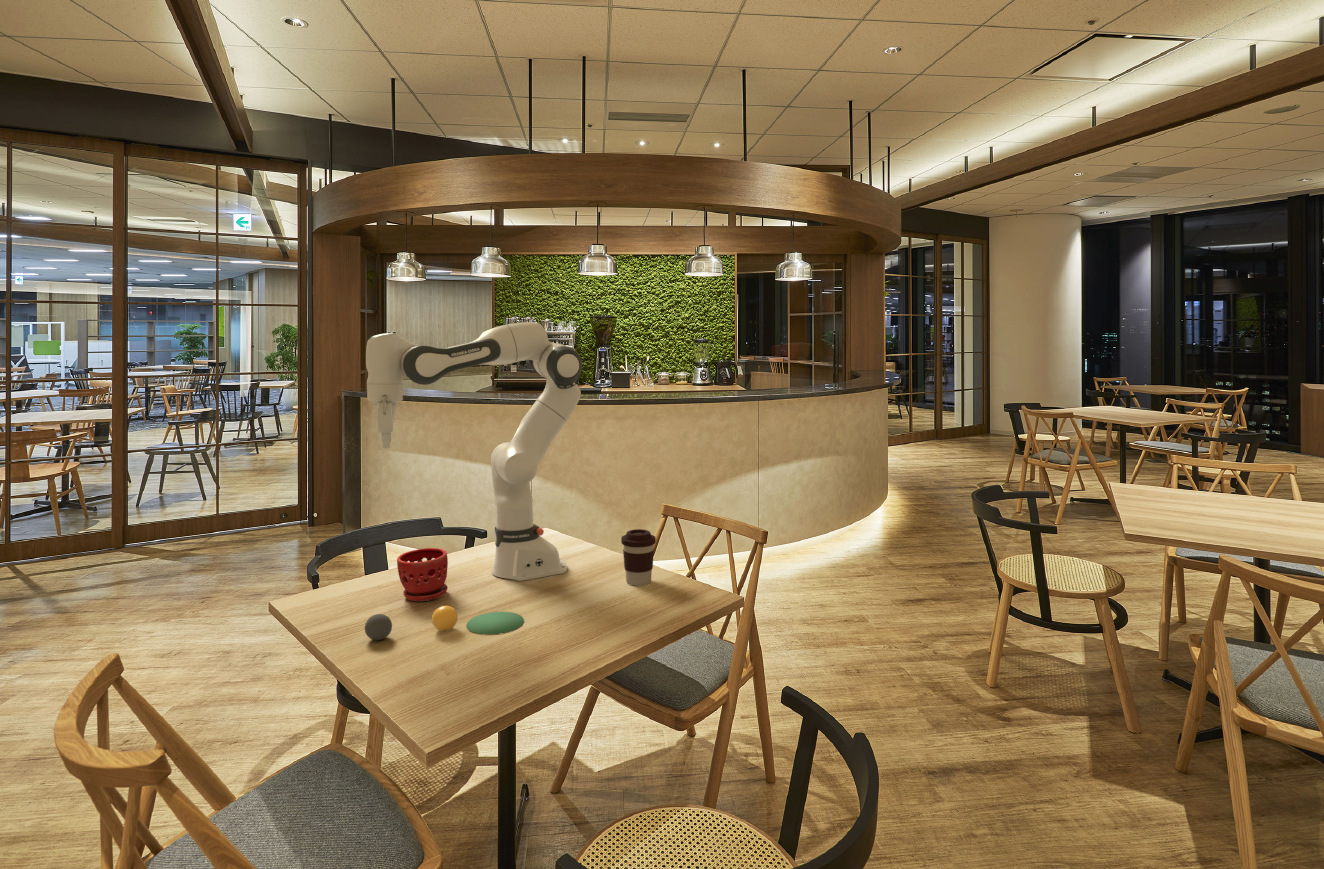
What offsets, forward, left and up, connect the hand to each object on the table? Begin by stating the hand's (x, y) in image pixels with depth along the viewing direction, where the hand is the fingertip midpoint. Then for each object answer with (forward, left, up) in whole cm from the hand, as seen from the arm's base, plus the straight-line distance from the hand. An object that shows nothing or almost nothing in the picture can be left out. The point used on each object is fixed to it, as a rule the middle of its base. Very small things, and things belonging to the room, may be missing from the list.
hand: (386, 445), depth 191 cm
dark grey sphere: (+3, +30, -39) cm, 49 cm away
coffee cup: (-67, +14, -42) cm, 80 cm away
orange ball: (-12, +30, -39) cm, 51 cm away
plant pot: (-8, +4, -42) cm, 43 cm away
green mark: (-24, +30, -42) cm, 57 cm away
